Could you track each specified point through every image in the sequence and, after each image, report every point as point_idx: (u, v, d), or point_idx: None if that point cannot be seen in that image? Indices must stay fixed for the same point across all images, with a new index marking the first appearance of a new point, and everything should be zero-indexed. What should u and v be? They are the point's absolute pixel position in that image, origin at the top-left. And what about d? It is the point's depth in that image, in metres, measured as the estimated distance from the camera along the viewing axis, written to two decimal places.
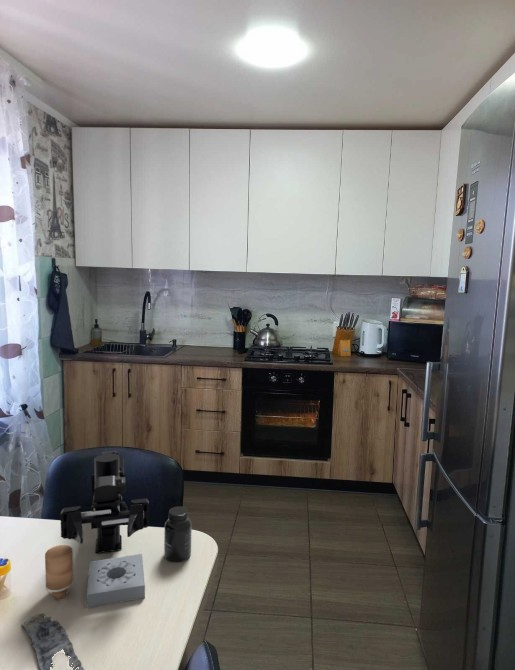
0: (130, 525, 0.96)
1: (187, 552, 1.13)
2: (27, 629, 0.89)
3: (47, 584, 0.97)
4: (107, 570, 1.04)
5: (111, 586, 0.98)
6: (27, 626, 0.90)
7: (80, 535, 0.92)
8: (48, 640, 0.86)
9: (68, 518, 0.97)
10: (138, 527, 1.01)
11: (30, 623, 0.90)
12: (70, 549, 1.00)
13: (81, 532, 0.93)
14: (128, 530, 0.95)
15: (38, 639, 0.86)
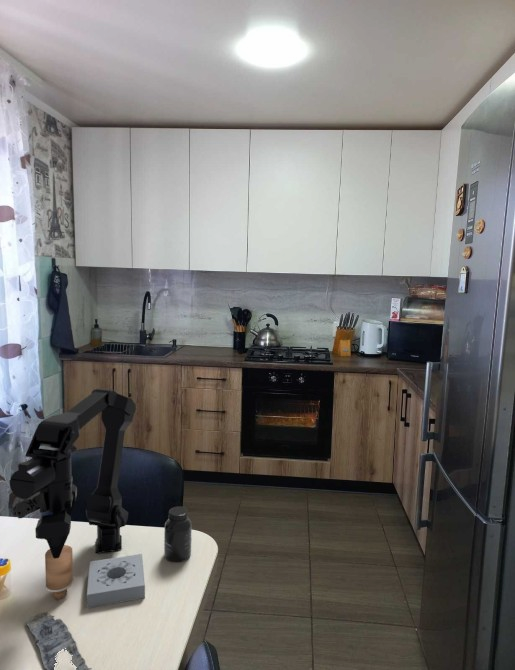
0: None
1: (187, 552, 1.13)
2: (30, 627, 0.89)
3: (47, 584, 0.97)
4: (107, 570, 1.04)
5: (111, 586, 0.98)
6: (31, 625, 0.90)
7: None
8: (51, 638, 0.87)
9: None
10: None
11: (33, 621, 0.91)
12: (70, 549, 1.00)
13: None
14: None
15: (42, 637, 0.86)
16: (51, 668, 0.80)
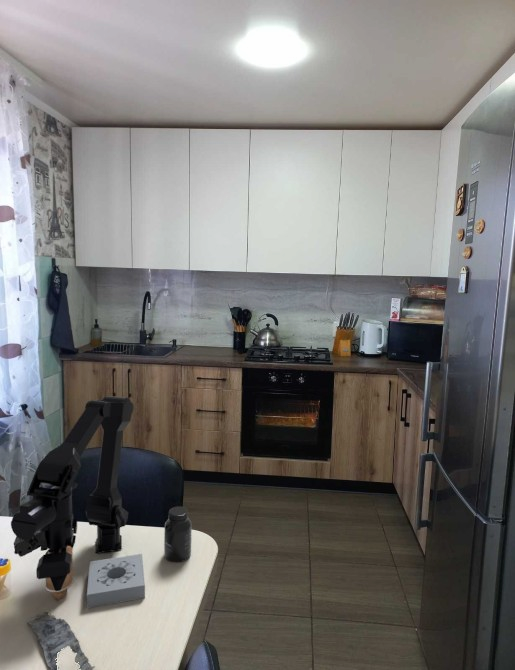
0: None
1: (187, 552, 1.13)
2: (33, 626, 0.89)
3: (47, 584, 0.97)
4: (107, 570, 1.04)
5: (111, 586, 0.98)
6: (33, 624, 0.90)
7: None
8: (54, 637, 0.87)
9: None
10: None
11: (36, 621, 0.91)
12: (70, 549, 1.00)
13: None
14: None
15: (45, 636, 0.87)
16: (54, 667, 0.81)
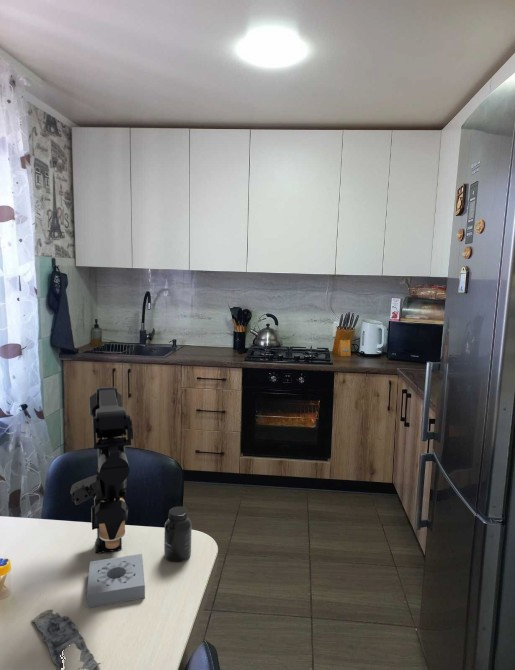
0: (107, 532, 0.98)
1: (187, 552, 1.13)
2: (38, 624, 0.90)
3: (101, 533, 0.99)
4: (107, 570, 1.04)
5: (111, 586, 0.98)
6: (38, 622, 0.91)
7: None
8: (59, 635, 0.88)
9: None
10: None
11: (40, 619, 0.92)
12: None
13: None
14: None
15: (49, 634, 0.87)
16: (60, 664, 0.81)
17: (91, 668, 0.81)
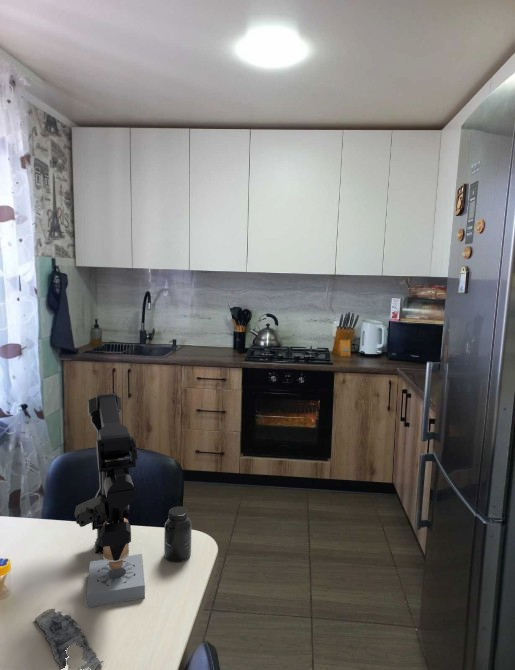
0: None
1: (187, 552, 1.13)
2: (40, 623, 0.90)
3: (105, 554, 1.00)
4: (107, 570, 1.04)
5: (111, 586, 0.98)
6: (40, 621, 0.91)
7: None
8: (61, 634, 0.88)
9: None
10: None
11: (42, 618, 0.92)
12: (126, 521, 1.03)
13: None
14: (113, 558, 1.00)
15: (52, 633, 0.88)
16: (63, 662, 0.82)
17: (94, 667, 0.81)
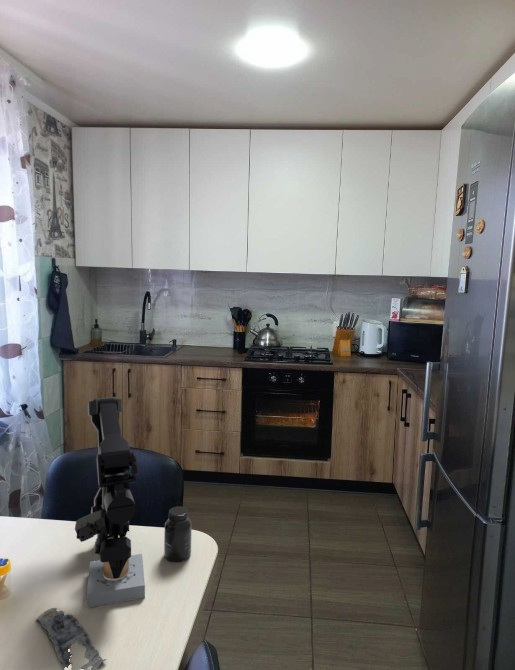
0: None
1: (187, 552, 1.13)
2: (42, 622, 0.91)
3: (105, 573, 1.01)
4: None
5: (111, 586, 0.98)
6: (42, 620, 0.91)
7: None
8: (64, 632, 0.88)
9: None
10: None
11: (44, 617, 0.92)
12: None
13: None
14: (113, 576, 0.99)
15: (54, 631, 0.88)
16: (66, 660, 0.82)
17: (97, 665, 0.81)
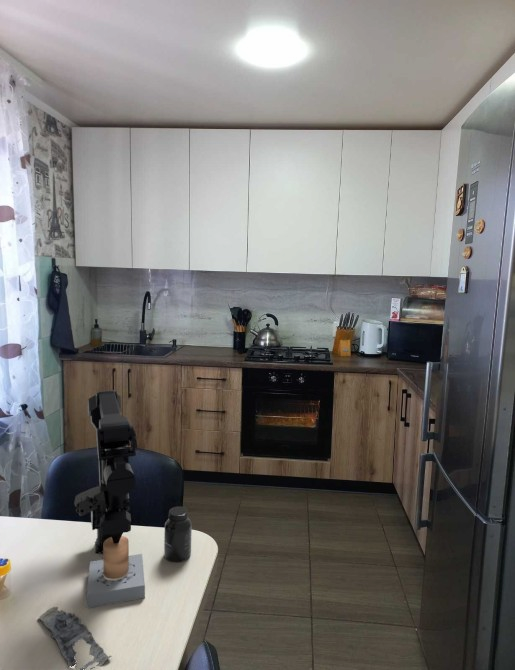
0: (111, 536, 1.01)
1: (187, 552, 1.13)
2: (44, 622, 0.91)
3: (105, 573, 1.01)
4: None
5: (111, 586, 0.98)
6: (44, 619, 0.92)
7: None
8: (67, 631, 0.89)
9: None
10: None
11: (46, 616, 0.93)
12: (126, 539, 1.03)
13: None
14: (113, 541, 1.02)
15: (57, 630, 0.88)
16: (71, 658, 0.82)
17: (102, 661, 0.82)
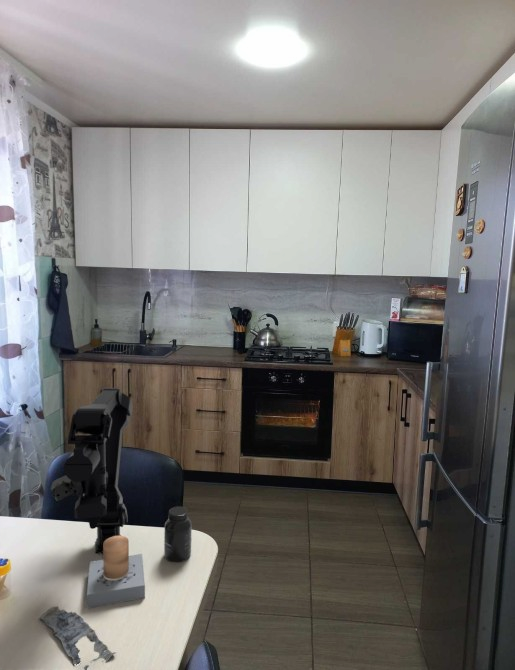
0: None
1: (187, 552, 1.13)
2: (46, 621, 0.91)
3: (105, 573, 1.01)
4: None
5: (111, 586, 0.98)
6: (45, 619, 0.92)
7: None
8: (69, 629, 0.89)
9: None
10: None
11: (47, 615, 0.93)
12: (126, 539, 1.03)
13: None
14: (90, 526, 1.03)
15: (60, 629, 0.89)
16: (75, 656, 0.83)
17: (106, 658, 0.83)
